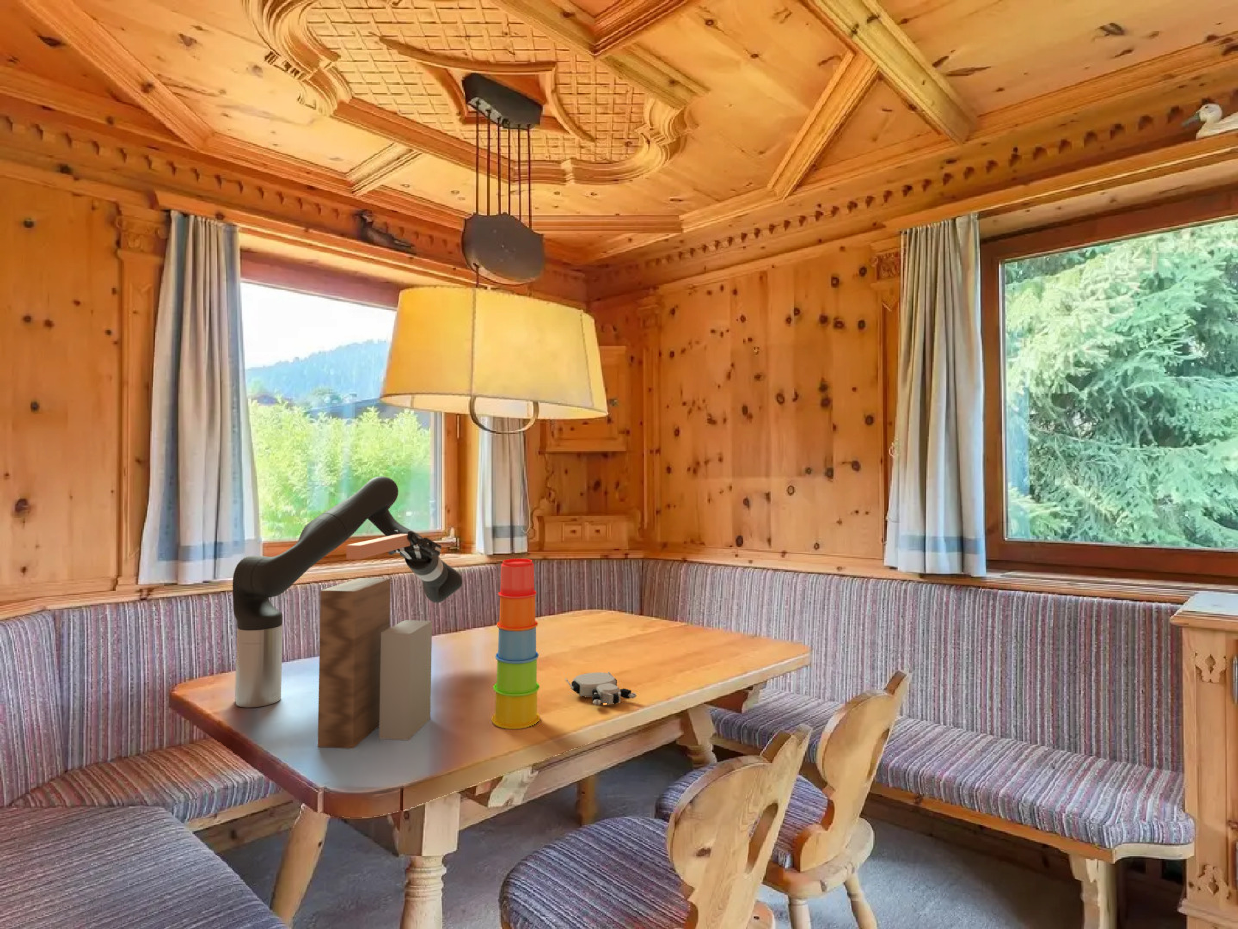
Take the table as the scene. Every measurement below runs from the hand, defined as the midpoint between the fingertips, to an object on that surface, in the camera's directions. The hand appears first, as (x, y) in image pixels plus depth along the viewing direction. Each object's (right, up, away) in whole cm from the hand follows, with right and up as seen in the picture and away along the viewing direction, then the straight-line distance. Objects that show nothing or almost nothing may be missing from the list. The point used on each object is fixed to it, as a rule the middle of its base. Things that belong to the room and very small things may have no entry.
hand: (402, 534), depth 160 cm
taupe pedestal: (+7, -38, -21) cm, 44 cm away
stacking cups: (+29, -39, -16) cm, 51 cm away
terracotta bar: (-1, -3, -12) cm, 12 cm away
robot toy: (+47, -39, -1) cm, 62 cm away
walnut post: (-2, -38, -23) cm, 44 cm away
